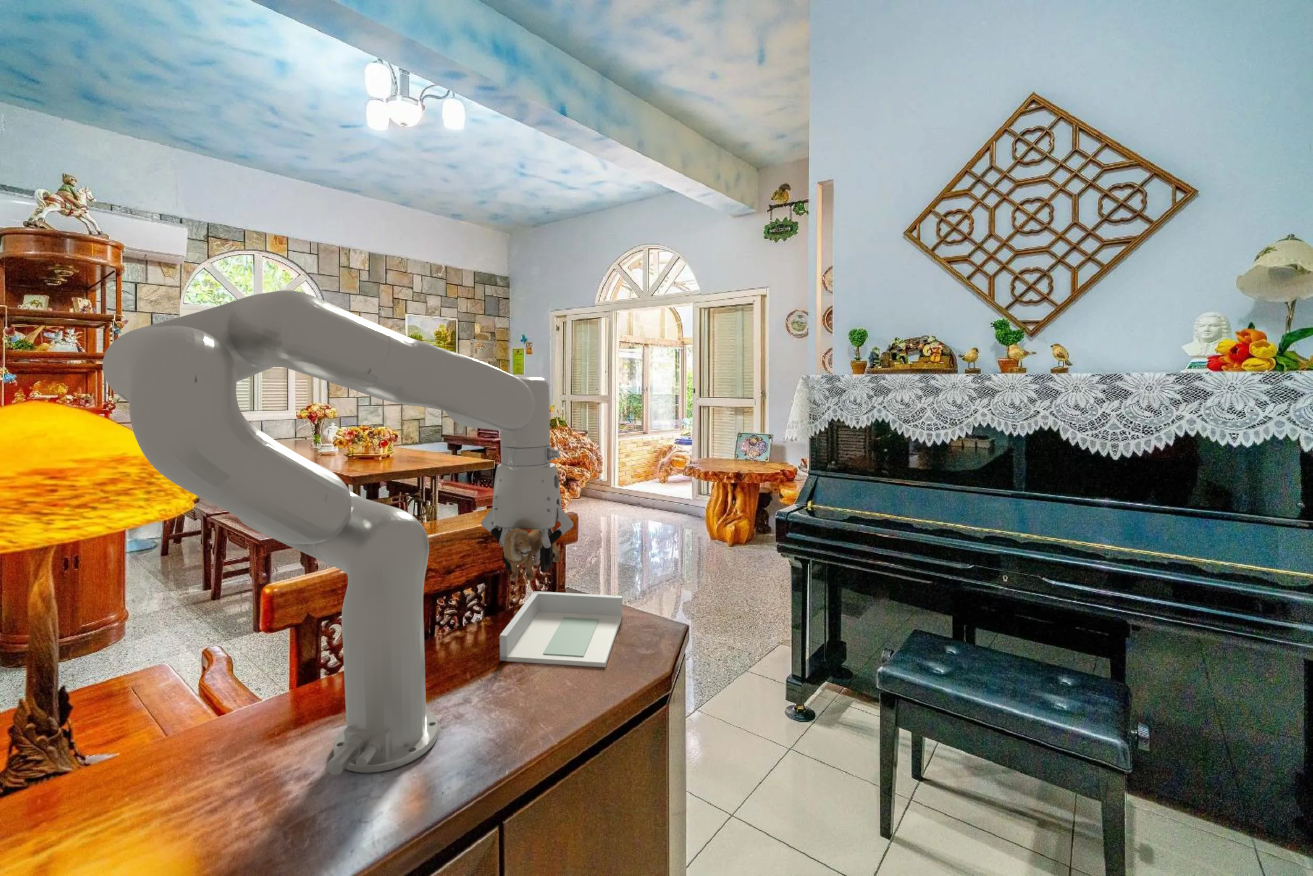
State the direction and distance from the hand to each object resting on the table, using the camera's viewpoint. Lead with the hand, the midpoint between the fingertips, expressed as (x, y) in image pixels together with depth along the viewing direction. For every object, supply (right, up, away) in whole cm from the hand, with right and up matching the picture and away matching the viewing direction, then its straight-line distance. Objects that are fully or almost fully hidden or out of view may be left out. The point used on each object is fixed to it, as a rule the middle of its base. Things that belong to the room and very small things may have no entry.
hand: (528, 567), depth 95 cm
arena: (+4, -16, +15) cm, 22 cm away
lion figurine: (+1, -1, +1) cm, 2 cm away
